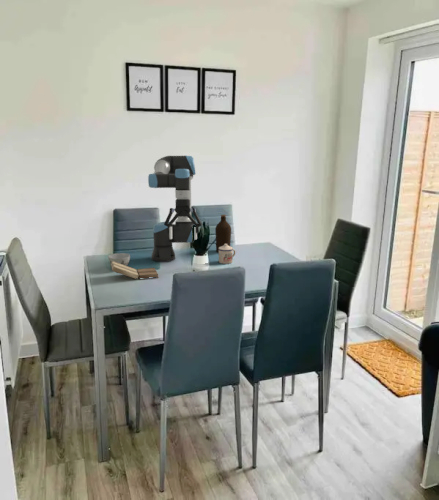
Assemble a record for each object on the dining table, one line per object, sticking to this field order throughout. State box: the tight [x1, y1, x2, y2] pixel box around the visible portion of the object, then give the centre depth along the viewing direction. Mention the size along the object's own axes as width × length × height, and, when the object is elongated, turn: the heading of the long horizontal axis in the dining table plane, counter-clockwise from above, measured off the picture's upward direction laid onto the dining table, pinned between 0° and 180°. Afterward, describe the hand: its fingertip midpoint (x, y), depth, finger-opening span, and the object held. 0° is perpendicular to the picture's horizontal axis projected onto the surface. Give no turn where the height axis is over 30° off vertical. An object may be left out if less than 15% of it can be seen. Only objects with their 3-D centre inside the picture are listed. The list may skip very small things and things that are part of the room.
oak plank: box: [110, 261, 139, 280], centre depth 245 cm, size 12×14×2 cm
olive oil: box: [214, 214, 232, 254], centre depth 297 cm, size 11×11×25 cm
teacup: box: [107, 252, 131, 266], centre depth 262 cm, size 15×12×8 cm
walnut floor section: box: [136, 267, 159, 279], centre depth 249 cm, size 12×10×2 cm
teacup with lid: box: [218, 244, 236, 265], centre depth 275 cm, size 12×9×12 cm
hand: (183, 239), depth 234 cm, fingers open, 13 cm apart
